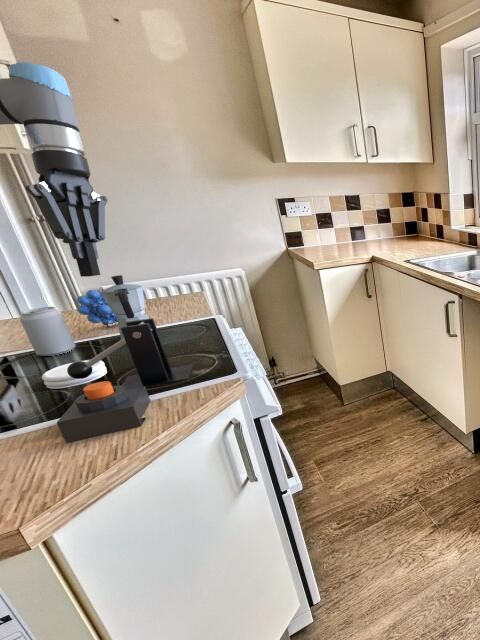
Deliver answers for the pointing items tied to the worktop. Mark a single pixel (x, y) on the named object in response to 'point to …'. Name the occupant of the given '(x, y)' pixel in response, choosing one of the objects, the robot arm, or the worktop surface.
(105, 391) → the stop button
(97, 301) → the grapes
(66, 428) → the control block
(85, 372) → the lever
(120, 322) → the coffee maker
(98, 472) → the worktop surface
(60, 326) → the can
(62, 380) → the white thick disc
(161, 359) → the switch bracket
